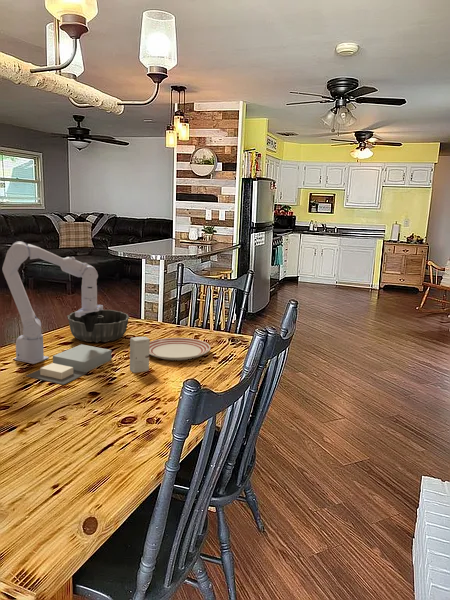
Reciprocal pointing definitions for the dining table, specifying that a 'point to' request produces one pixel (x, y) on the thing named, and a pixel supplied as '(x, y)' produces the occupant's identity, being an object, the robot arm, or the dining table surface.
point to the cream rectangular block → (56, 371)
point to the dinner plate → (178, 348)
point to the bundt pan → (100, 326)
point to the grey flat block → (83, 357)
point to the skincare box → (139, 354)
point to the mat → (54, 380)
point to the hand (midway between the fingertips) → (89, 331)
